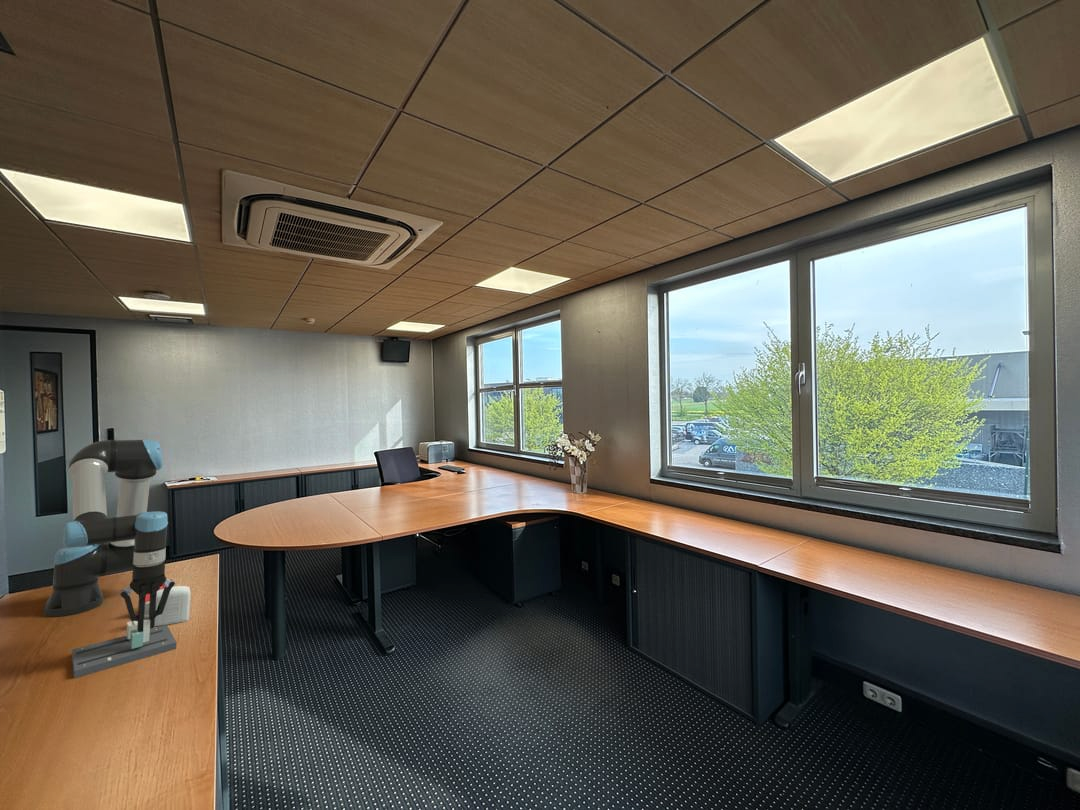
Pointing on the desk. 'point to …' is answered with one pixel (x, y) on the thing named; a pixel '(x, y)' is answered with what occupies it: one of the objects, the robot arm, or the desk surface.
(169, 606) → the photo printer
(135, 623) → the ivory fader
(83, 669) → the console
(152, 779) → the desk surface
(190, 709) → the desk surface
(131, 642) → the teal fader
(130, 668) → the desk surface
